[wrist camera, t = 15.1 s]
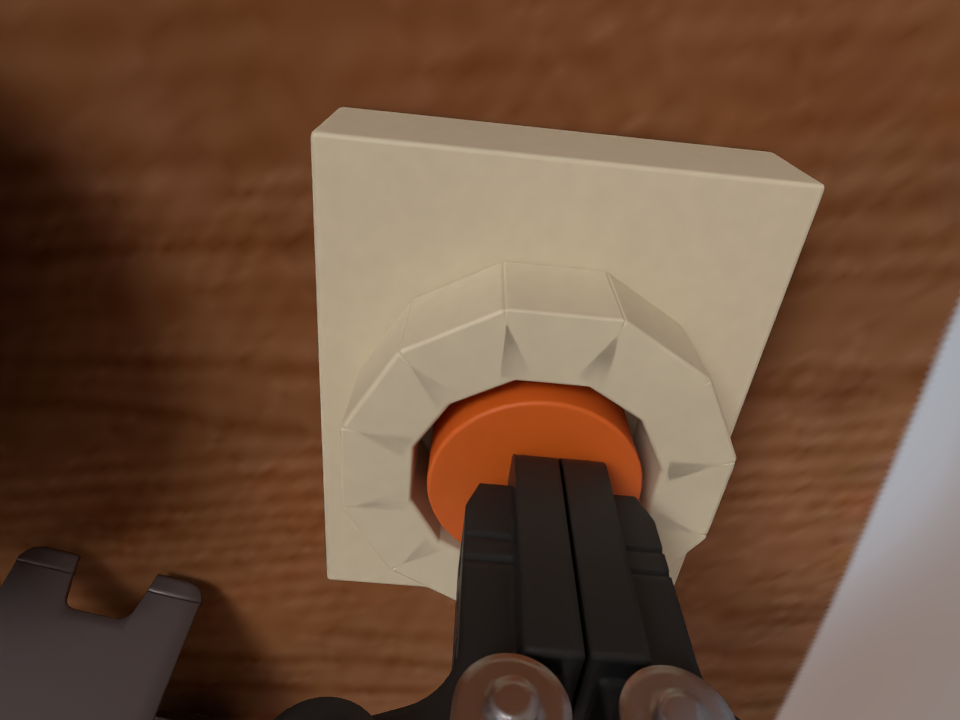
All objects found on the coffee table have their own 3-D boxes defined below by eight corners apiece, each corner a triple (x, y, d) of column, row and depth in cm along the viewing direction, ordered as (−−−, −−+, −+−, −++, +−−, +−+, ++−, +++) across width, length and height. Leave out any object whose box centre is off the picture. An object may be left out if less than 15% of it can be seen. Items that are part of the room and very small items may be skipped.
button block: (648, 536, 17) (688, 678, 14) (344, 512, 17) (306, 651, 13) (774, 151, 12) (891, 224, 8) (338, 105, 11) (274, 162, 8)
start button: (603, 504, 13) (618, 573, 12) (428, 490, 13) (421, 557, 12) (644, 354, 11) (667, 413, 10) (441, 336, 11) (433, 392, 10)
